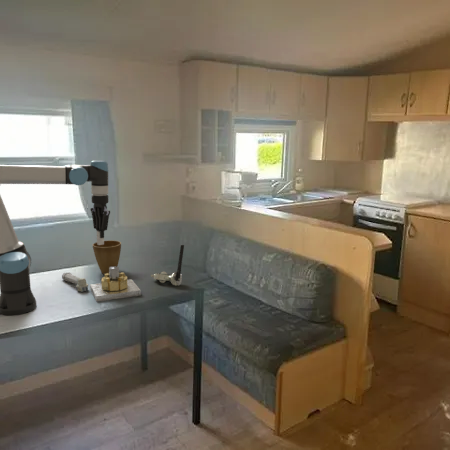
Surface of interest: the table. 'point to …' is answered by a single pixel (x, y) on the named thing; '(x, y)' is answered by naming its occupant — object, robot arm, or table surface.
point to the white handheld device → (76, 281)
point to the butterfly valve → (175, 277)
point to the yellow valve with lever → (114, 282)
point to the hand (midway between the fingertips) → (100, 244)
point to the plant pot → (107, 254)
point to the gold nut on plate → (109, 295)
